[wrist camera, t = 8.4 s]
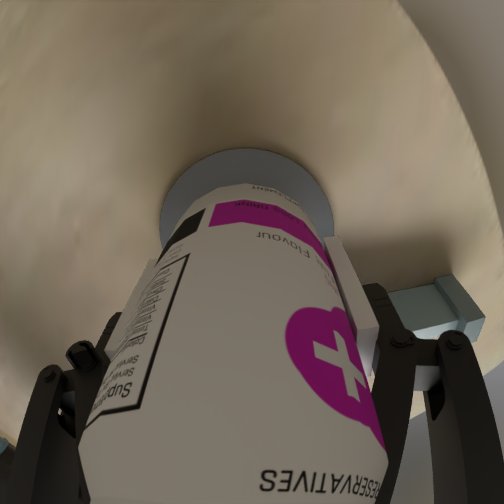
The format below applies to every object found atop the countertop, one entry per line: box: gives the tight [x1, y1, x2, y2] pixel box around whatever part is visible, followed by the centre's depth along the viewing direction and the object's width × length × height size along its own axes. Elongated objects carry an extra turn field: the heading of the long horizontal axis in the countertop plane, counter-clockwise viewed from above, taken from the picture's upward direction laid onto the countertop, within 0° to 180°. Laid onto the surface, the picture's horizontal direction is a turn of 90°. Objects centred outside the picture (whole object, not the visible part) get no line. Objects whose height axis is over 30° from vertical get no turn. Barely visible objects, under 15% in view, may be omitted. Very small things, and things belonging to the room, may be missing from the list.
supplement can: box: [78, 183, 388, 504], centre depth 12 cm, size 8×8×15 cm
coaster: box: [159, 148, 334, 249], centre depth 20 cm, size 11×11×1 cm
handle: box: [387, 274, 486, 343], centre depth 20 cm, size 20×2×6 cm, turn 99°
